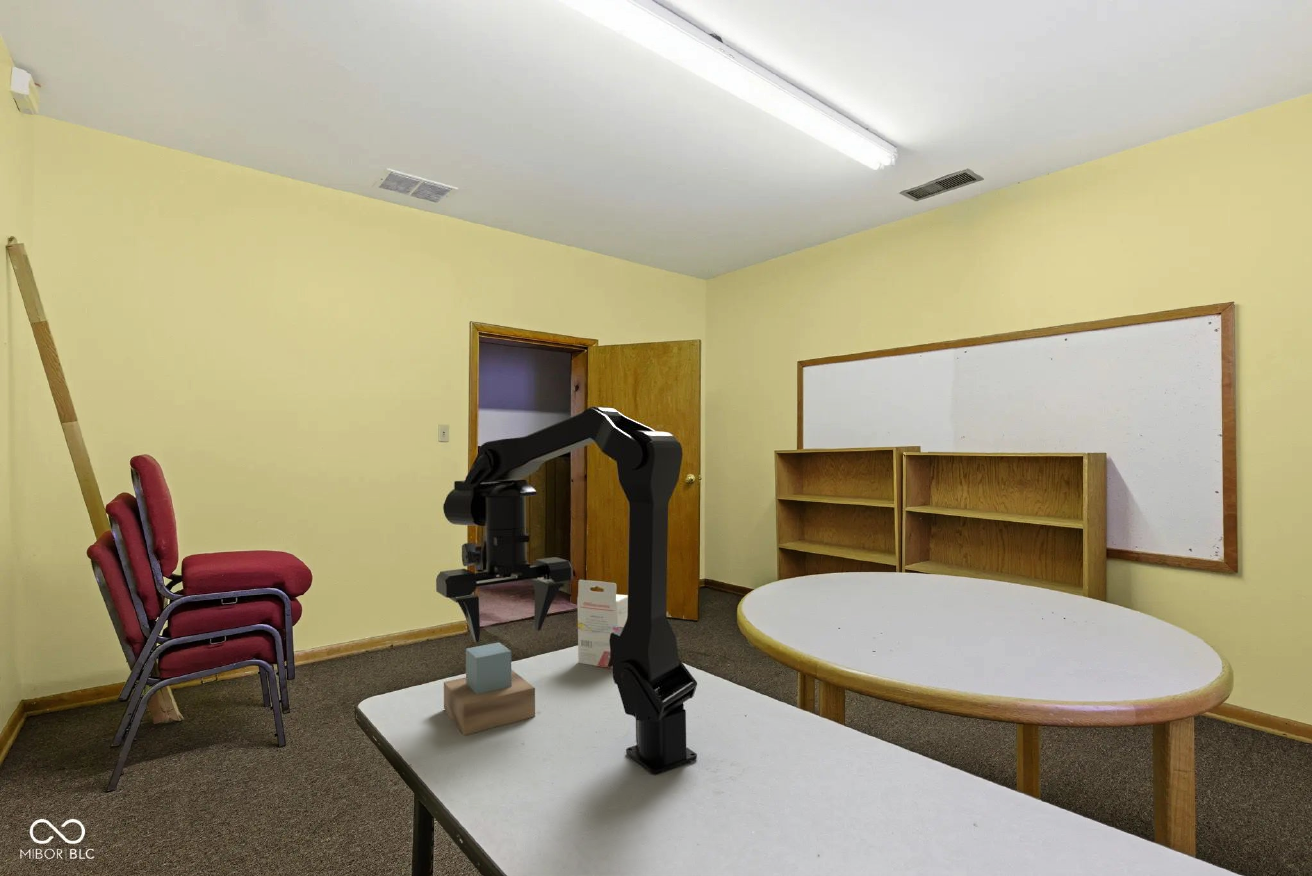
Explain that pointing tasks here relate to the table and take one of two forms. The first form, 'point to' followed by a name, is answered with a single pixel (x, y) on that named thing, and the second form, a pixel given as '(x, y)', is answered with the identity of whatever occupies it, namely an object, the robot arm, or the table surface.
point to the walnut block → (488, 704)
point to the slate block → (488, 668)
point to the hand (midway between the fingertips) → (507, 635)
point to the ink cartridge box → (598, 620)
